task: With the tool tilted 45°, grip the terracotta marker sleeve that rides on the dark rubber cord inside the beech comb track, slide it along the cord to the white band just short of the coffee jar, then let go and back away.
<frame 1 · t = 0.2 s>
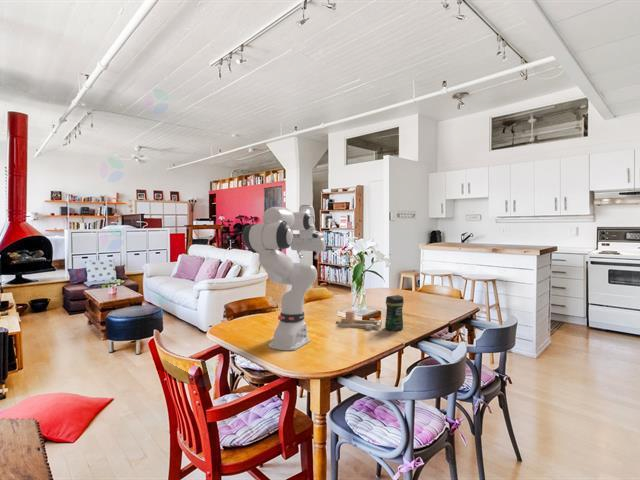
hand: (308, 258, 201), 39 cm above the table, tool pointing down, fingers open, 8 cm apart
comb track: (358, 325, 205), on the table
coffee jar: (394, 329, 199), on the table
marker sleeve: (350, 317, 206), point 4 cm above the table, slide at 0.0 cm
fibre cord: (356, 325, 205), resting in comb track
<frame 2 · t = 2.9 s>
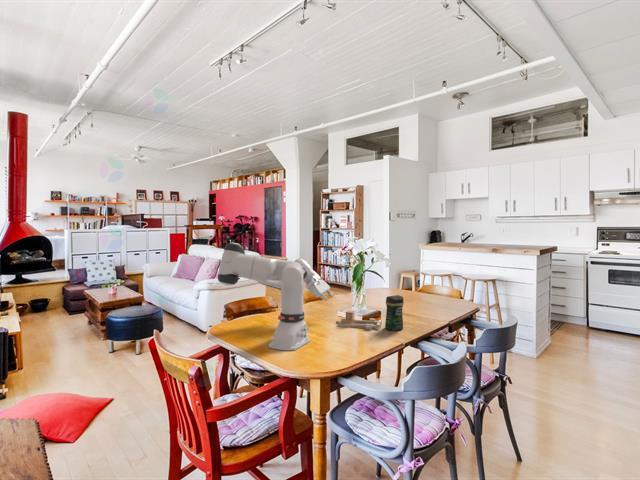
hand: (329, 298, 209), 14 cm above the table, tool tilted 45°, fingers open, 8 cm apart
nothing on the table moved.
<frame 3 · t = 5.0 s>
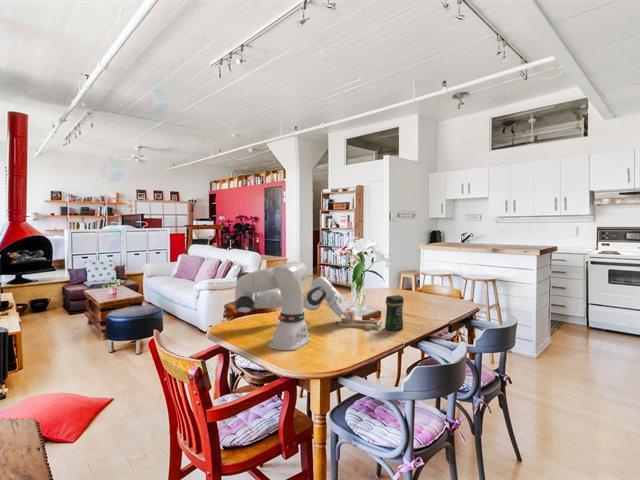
hand: (351, 316, 206), 5 cm above the table, tool tilted 45°, fingers closed on marker sleeve, 5 cm apart
marker sleeve: (350, 317, 206), point 4 cm above the table, slide at 0.0 cm, touching gripper
everything else where it was.
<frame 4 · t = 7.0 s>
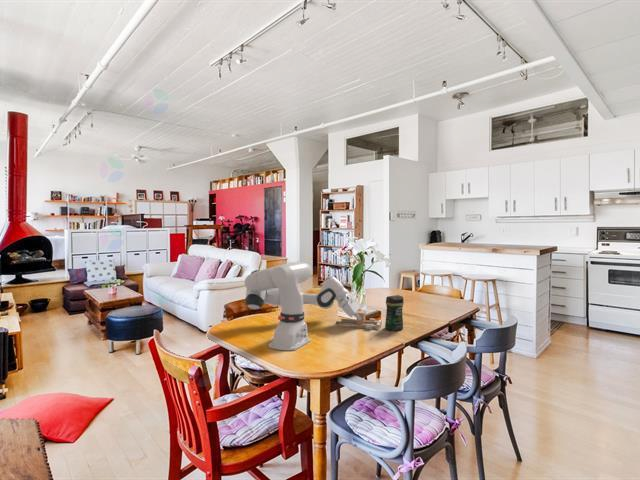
hand: (362, 317, 204), 5 cm above the table, tool tilted 45°, fingers open, 6 cm apart
marker sleeve: (361, 318, 204), point 4 cm above the table, slide at 6.4 cm, touching gripper
everything else where it was.
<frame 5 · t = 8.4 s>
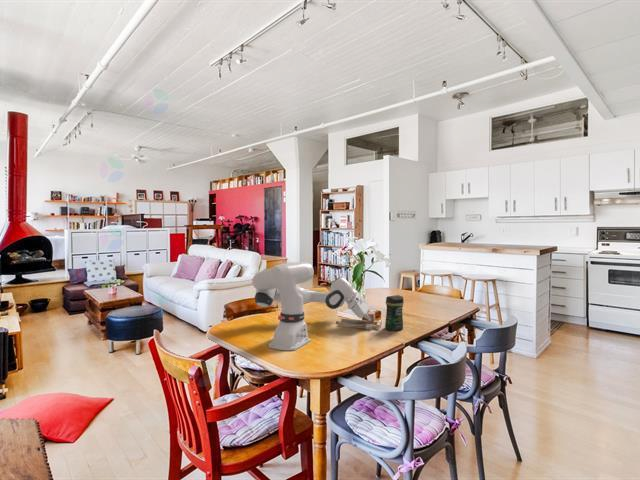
hand: (371, 318, 202), 5 cm above the table, tool tilted 45°, fingers closed on marker sleeve, 5 cm apart
marker sleeve: (370, 319, 202), point 4 cm above the table, slide at 12.0 cm, touching gripper
everything else where it was.
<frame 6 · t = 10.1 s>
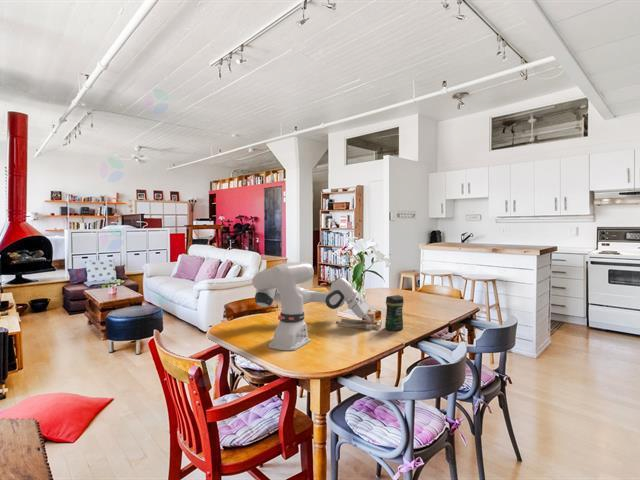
hand: (372, 318, 202), 5 cm above the table, tool tilted 45°, fingers open, 8 cm apart
marker sleeve: (370, 319, 202), point 4 cm above the table, slide at 12.0 cm
everything else where it was.
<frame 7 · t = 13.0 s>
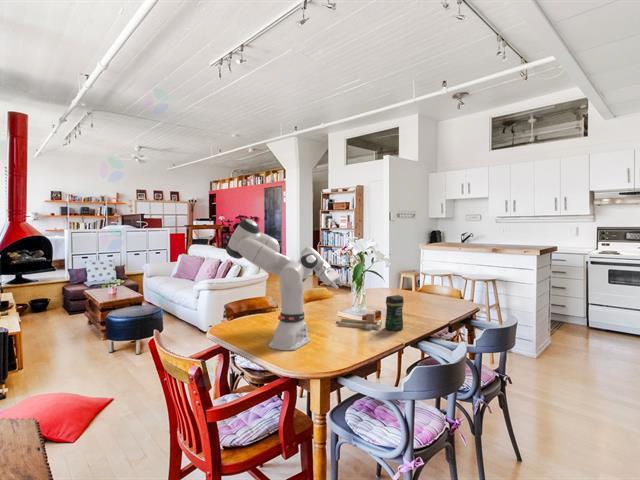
hand: (339, 286, 207), 22 cm above the table, tool tilted 45°, fingers open, 8 cm apart
nothing on the table moved.
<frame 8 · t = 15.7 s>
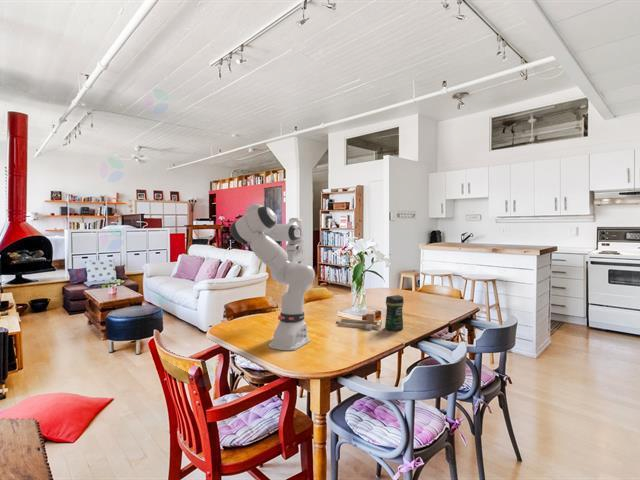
hand: (295, 269, 211), 31 cm above the table, tool pointing down, fingers open, 8 cm apart
nothing on the table moved.
at the end: marker sleeve slide at 12.0 cm; the gripper is holding nothing; coffee jar moved 0.2 cm from its start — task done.
